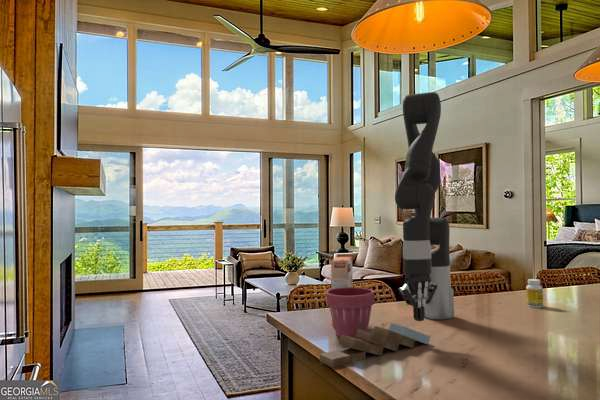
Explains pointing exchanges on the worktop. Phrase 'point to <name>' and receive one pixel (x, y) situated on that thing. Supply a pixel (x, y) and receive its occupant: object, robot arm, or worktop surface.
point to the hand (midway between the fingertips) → (419, 320)
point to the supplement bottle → (534, 293)
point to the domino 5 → (410, 333)
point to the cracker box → (341, 273)
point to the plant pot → (350, 309)
